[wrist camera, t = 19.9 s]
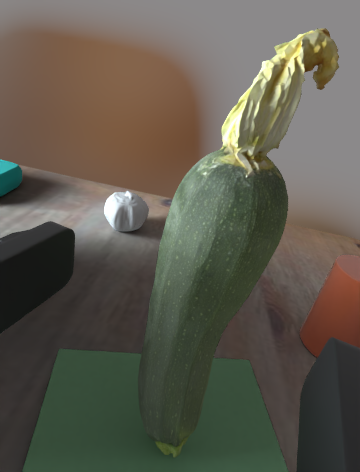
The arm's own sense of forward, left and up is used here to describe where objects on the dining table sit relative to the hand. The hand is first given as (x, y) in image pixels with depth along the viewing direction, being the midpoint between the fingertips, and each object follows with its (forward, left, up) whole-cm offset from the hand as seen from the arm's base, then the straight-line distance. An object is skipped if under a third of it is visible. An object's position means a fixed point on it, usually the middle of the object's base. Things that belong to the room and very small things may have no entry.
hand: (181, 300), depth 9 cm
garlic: (+20, -21, -13) cm, 32 cm away
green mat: (+1, -4, -13) cm, 13 cm away
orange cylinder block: (-6, -20, -13) cm, 24 cm away
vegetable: (+1, -4, -12) cm, 13 cm away
